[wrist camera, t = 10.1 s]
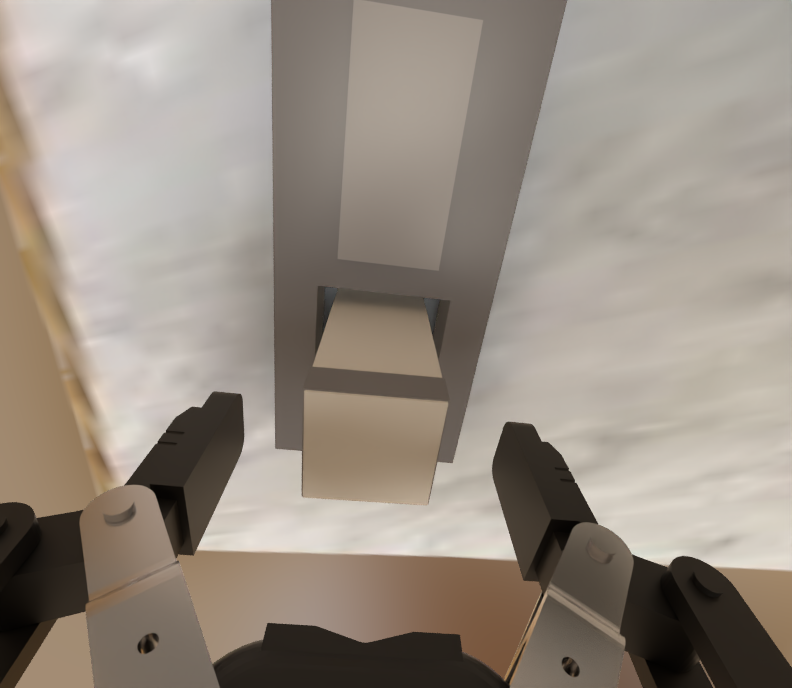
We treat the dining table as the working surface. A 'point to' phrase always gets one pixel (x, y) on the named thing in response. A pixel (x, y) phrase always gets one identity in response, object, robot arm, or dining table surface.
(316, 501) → the dining table surface
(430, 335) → the block
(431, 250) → the power strip
